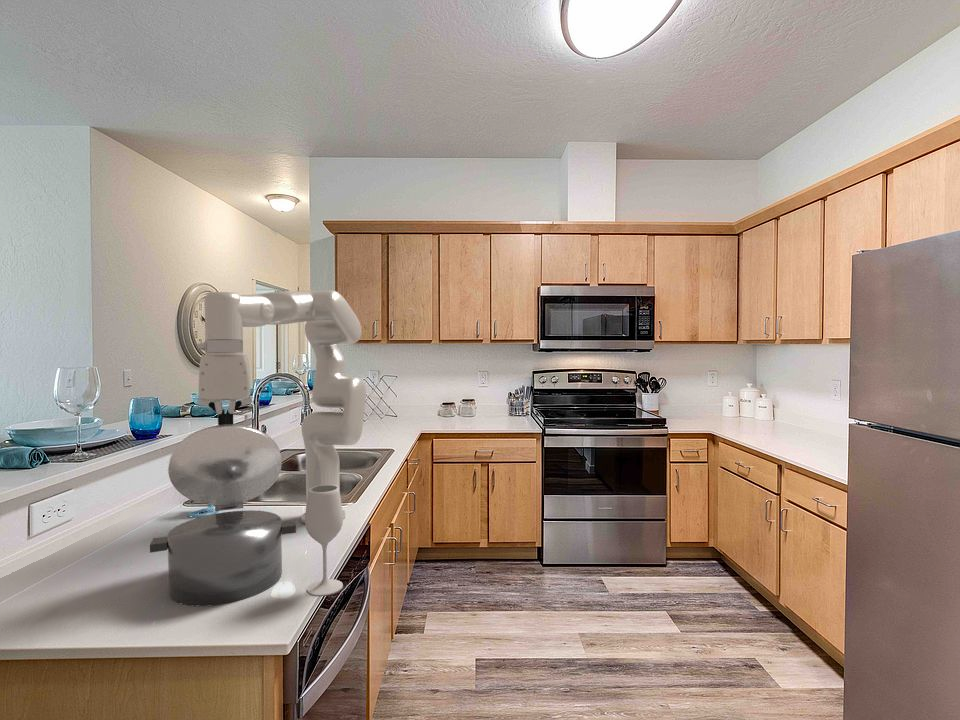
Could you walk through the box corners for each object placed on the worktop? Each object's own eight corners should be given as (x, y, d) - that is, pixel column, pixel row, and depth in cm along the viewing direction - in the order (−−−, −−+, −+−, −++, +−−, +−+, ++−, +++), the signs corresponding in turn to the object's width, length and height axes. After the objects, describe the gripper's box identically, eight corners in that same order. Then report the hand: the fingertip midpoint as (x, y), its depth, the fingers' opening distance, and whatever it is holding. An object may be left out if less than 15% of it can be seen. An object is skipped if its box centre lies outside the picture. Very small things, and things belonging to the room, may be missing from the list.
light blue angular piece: (227, 509, 165) (227, 471, 164) (210, 518, 156) (209, 478, 156) (205, 508, 166) (204, 471, 165) (187, 517, 158) (186, 477, 157)
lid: (174, 517, 120) (175, 506, 123) (281, 505, 129) (280, 494, 132) (163, 432, 108) (165, 421, 111) (282, 425, 117) (281, 415, 120)
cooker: (161, 572, 118) (160, 519, 118) (292, 552, 129) (292, 504, 129) (142, 618, 98) (140, 554, 98) (299, 590, 109) (298, 533, 109)
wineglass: (305, 598, 105) (303, 494, 105) (307, 582, 113) (305, 485, 112) (344, 593, 107) (342, 491, 107) (343, 578, 115) (342, 482, 114)
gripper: (183, 348, 109) (185, 436, 110) (261, 348, 115) (262, 431, 116) (188, 348, 116) (189, 431, 117) (261, 348, 122) (262, 426, 122)
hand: (225, 431), depth 116 cm, fingers closed
